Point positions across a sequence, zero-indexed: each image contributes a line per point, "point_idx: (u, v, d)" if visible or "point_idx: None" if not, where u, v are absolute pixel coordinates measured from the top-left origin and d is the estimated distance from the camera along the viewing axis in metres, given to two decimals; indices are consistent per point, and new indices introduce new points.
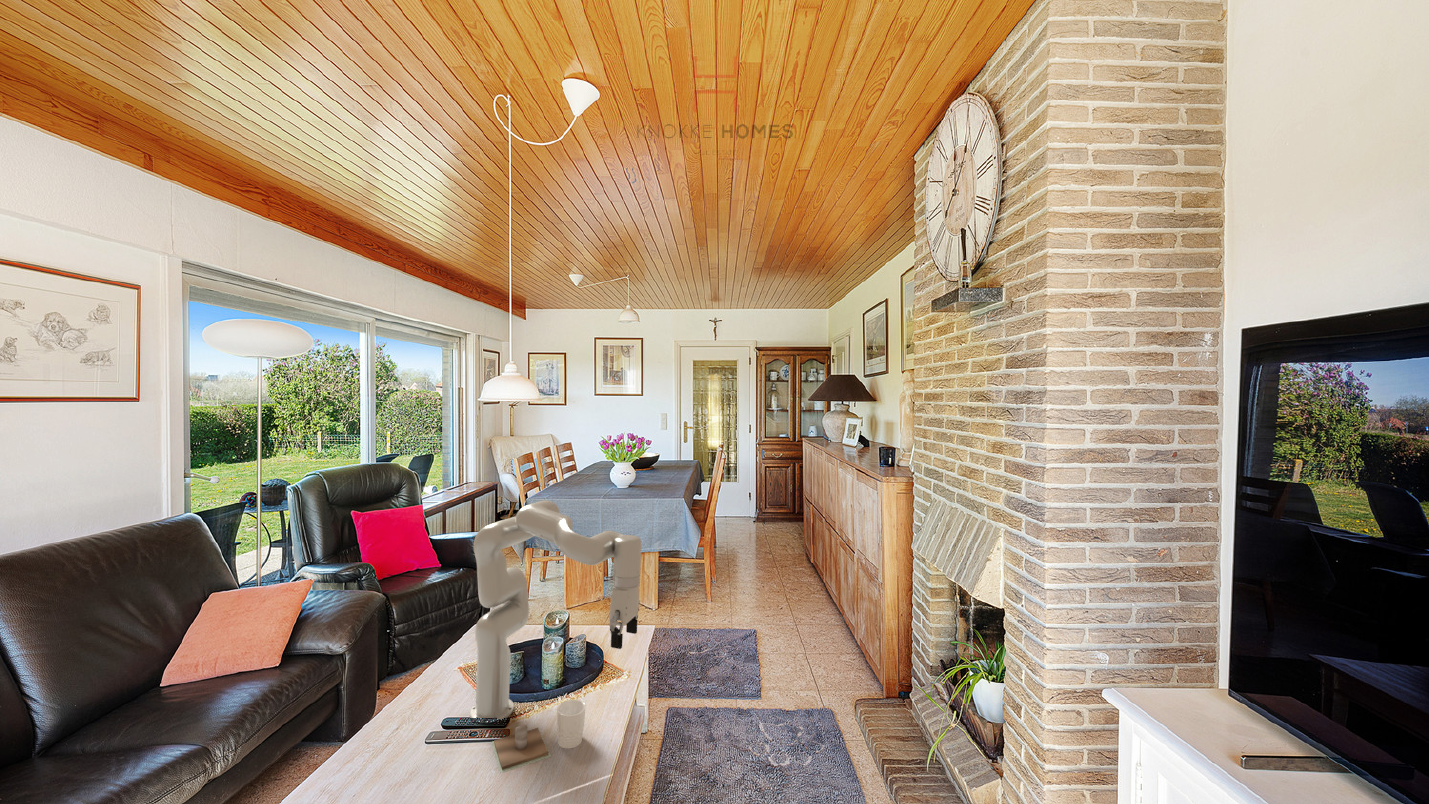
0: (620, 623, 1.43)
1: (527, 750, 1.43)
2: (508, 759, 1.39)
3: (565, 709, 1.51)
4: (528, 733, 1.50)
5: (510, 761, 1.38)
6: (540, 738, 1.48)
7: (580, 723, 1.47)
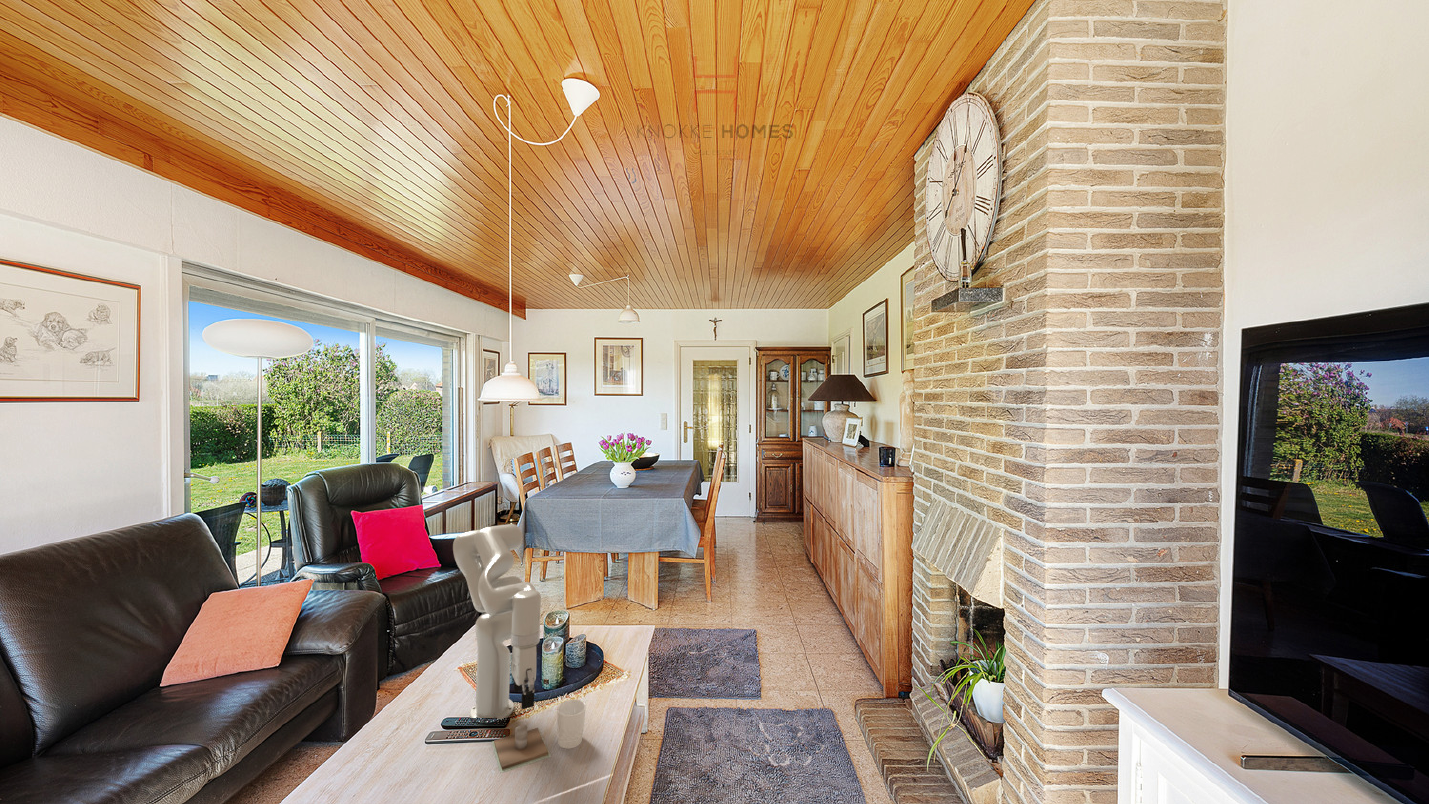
0: None
1: (527, 750, 1.43)
2: (508, 759, 1.39)
3: (565, 709, 1.51)
4: (528, 733, 1.50)
5: (510, 761, 1.38)
6: (540, 738, 1.48)
7: (580, 723, 1.47)
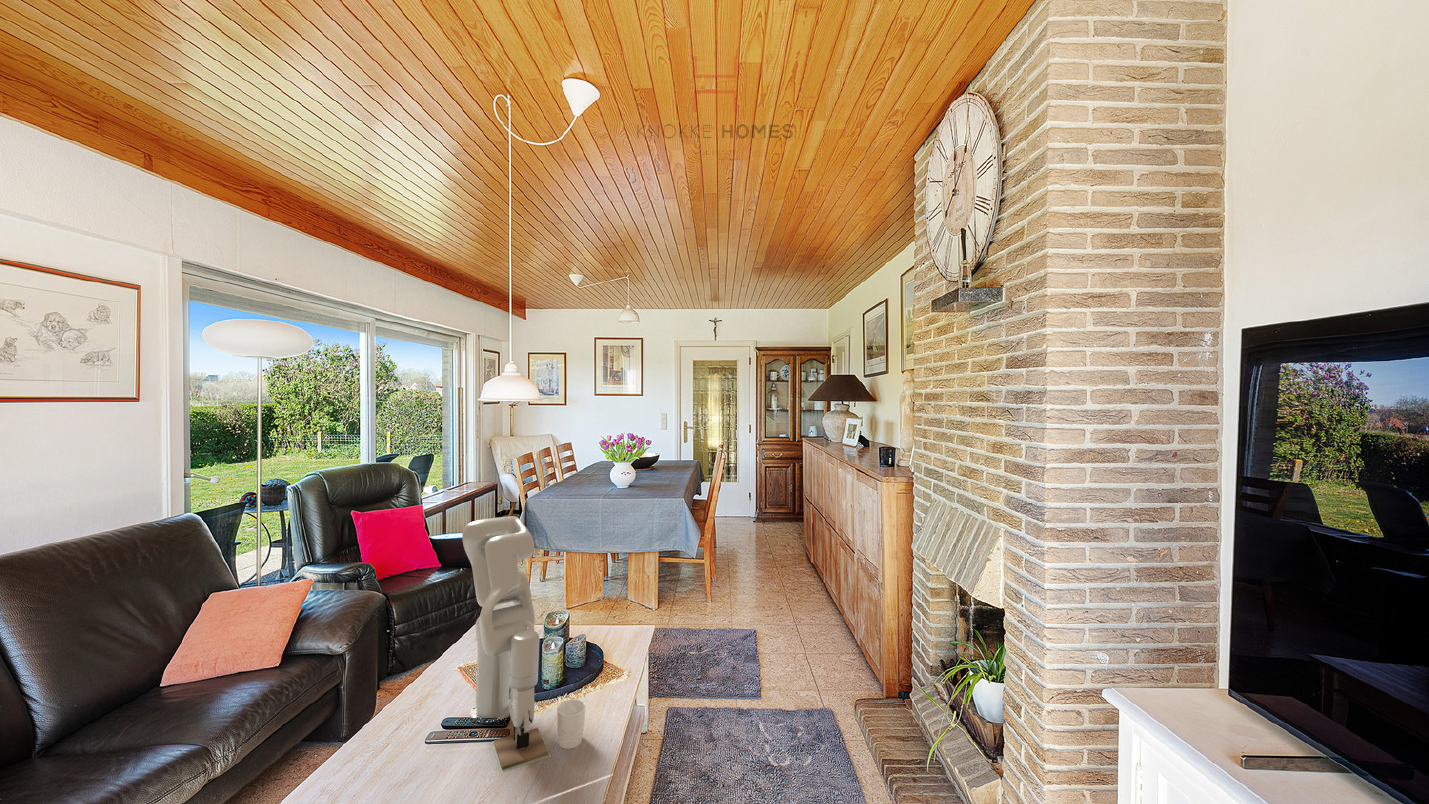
0: None
1: (527, 750, 1.43)
2: (508, 759, 1.39)
3: (565, 709, 1.51)
4: None
5: (510, 761, 1.38)
6: (540, 738, 1.48)
7: (580, 723, 1.47)
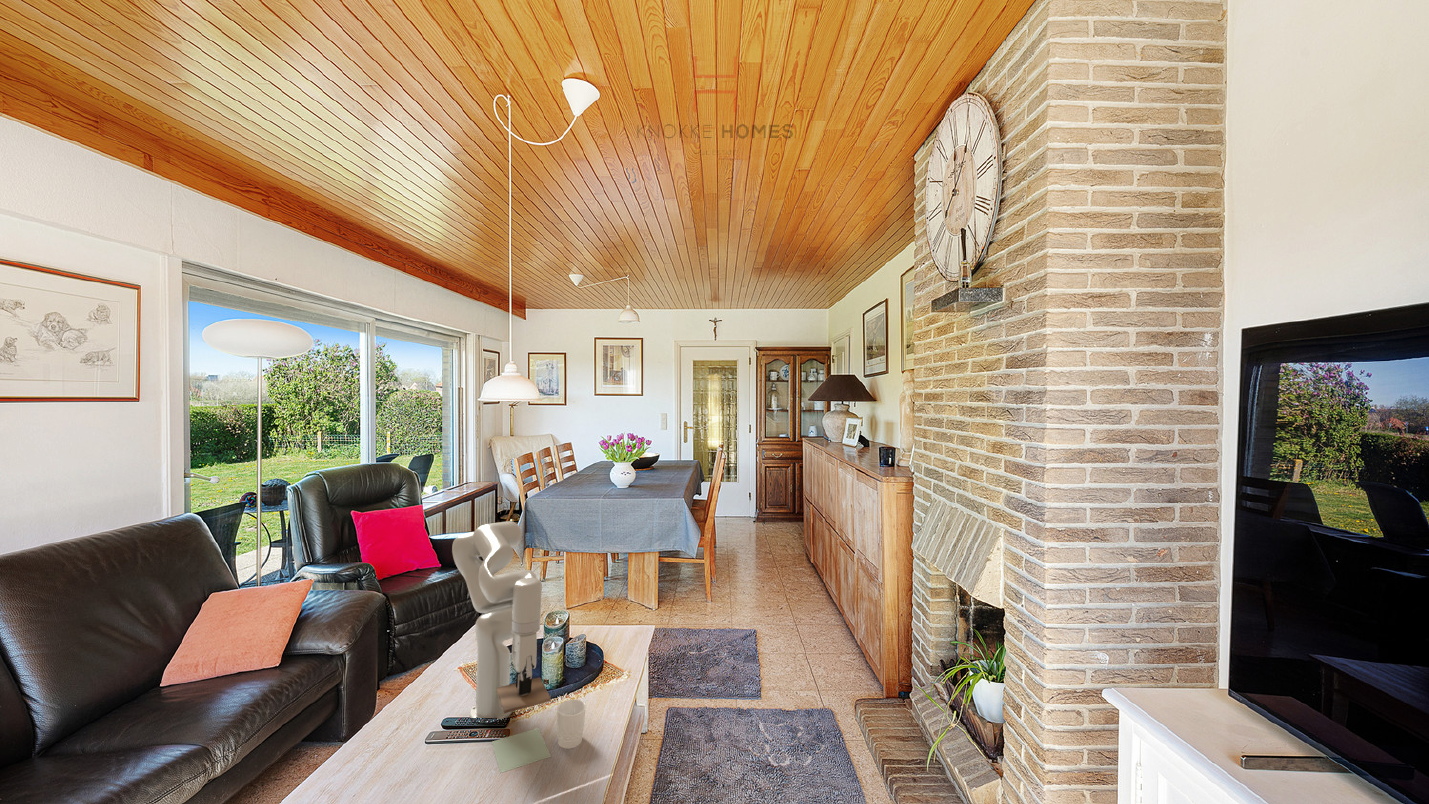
0: None
1: (529, 696, 1.43)
2: (510, 704, 1.39)
3: (565, 709, 1.51)
4: None
5: (512, 705, 1.38)
6: (542, 686, 1.48)
7: (580, 723, 1.47)
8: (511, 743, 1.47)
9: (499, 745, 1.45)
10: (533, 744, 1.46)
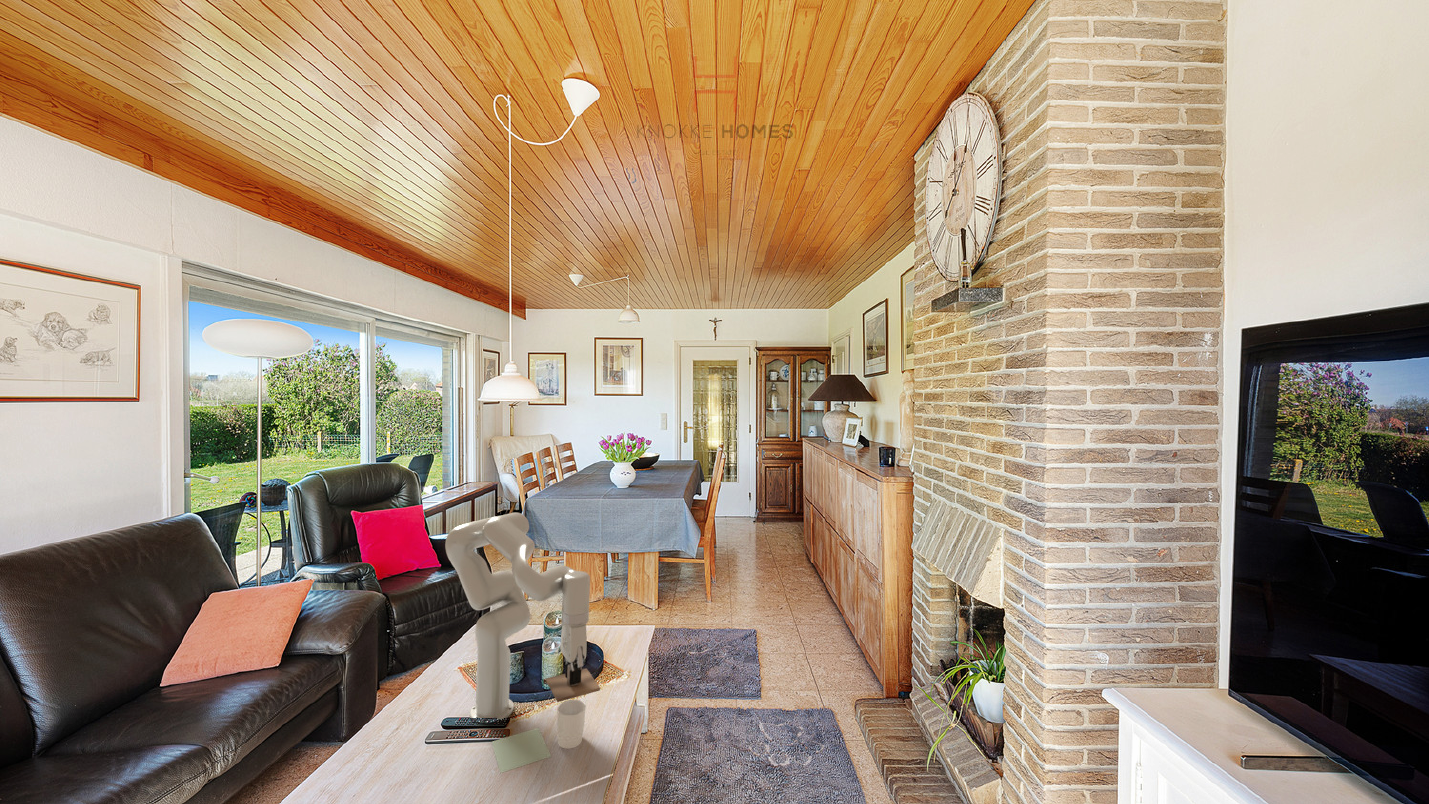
0: None
1: (579, 686, 1.47)
2: (562, 693, 1.43)
3: (565, 709, 1.51)
4: None
5: (565, 695, 1.43)
6: (590, 677, 1.52)
7: (580, 723, 1.47)
8: (511, 743, 1.47)
9: (499, 745, 1.45)
10: (533, 744, 1.46)
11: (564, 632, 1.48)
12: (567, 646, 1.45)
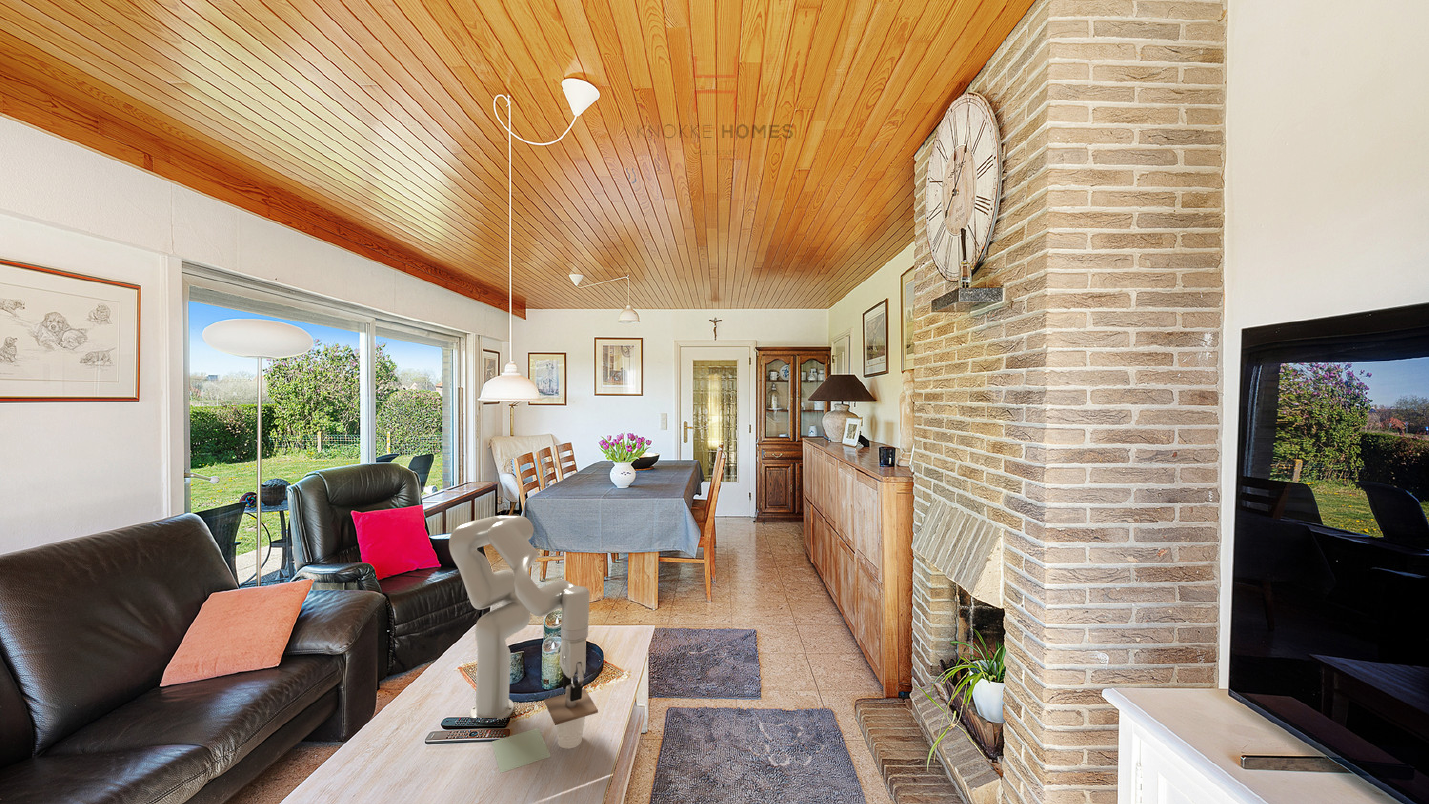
0: None
1: (577, 708, 1.47)
2: (560, 716, 1.43)
3: None
4: None
5: (562, 717, 1.43)
6: (588, 698, 1.52)
7: (580, 723, 1.47)
8: (511, 743, 1.47)
9: (499, 745, 1.45)
10: (533, 744, 1.46)
11: (563, 647, 1.48)
12: (566, 661, 1.45)
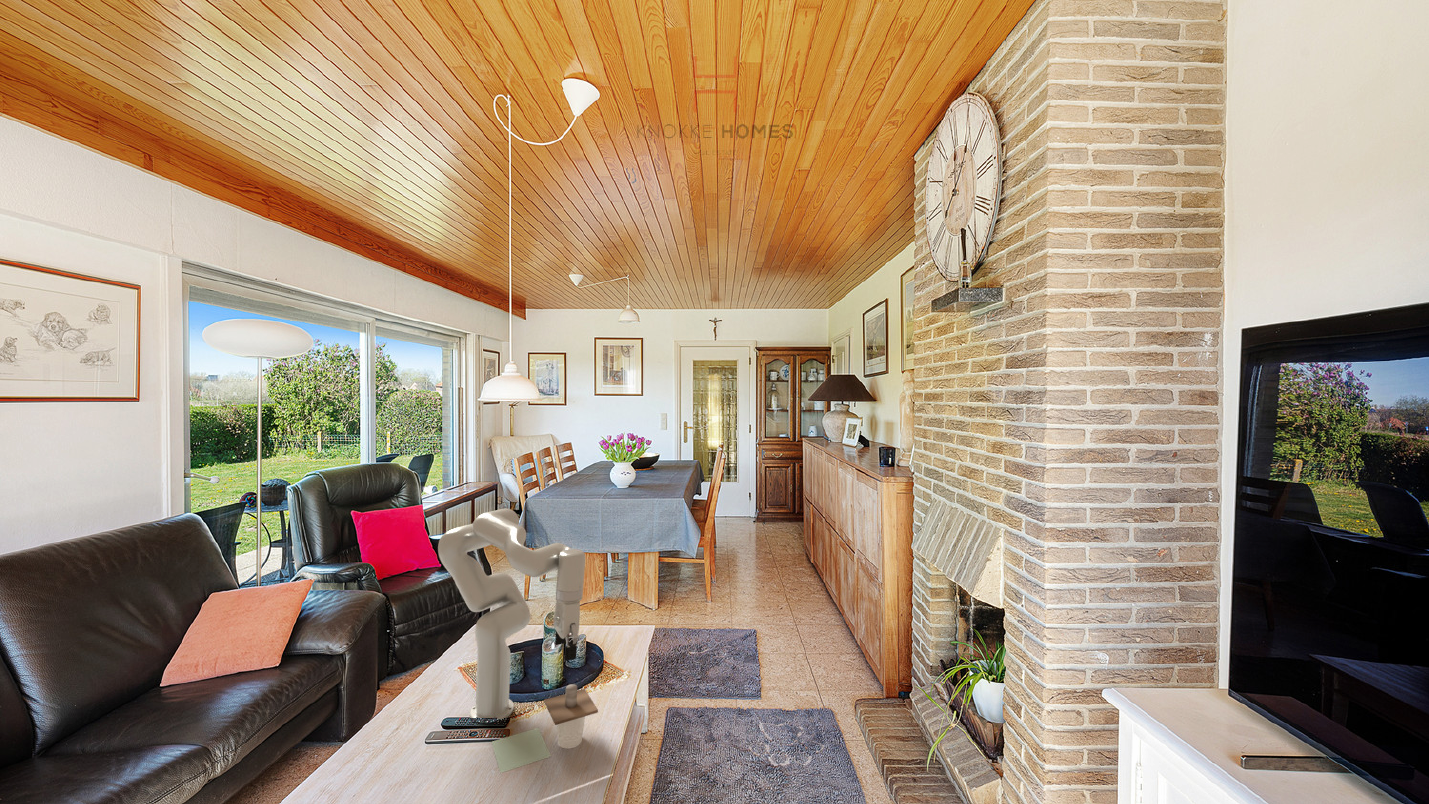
0: None
1: (577, 708, 1.47)
2: (560, 716, 1.43)
3: None
4: None
5: (562, 717, 1.43)
6: (588, 698, 1.52)
7: (580, 723, 1.47)
8: (511, 743, 1.47)
9: (499, 745, 1.45)
10: (533, 744, 1.46)
11: (558, 608, 1.49)
12: (560, 622, 1.47)
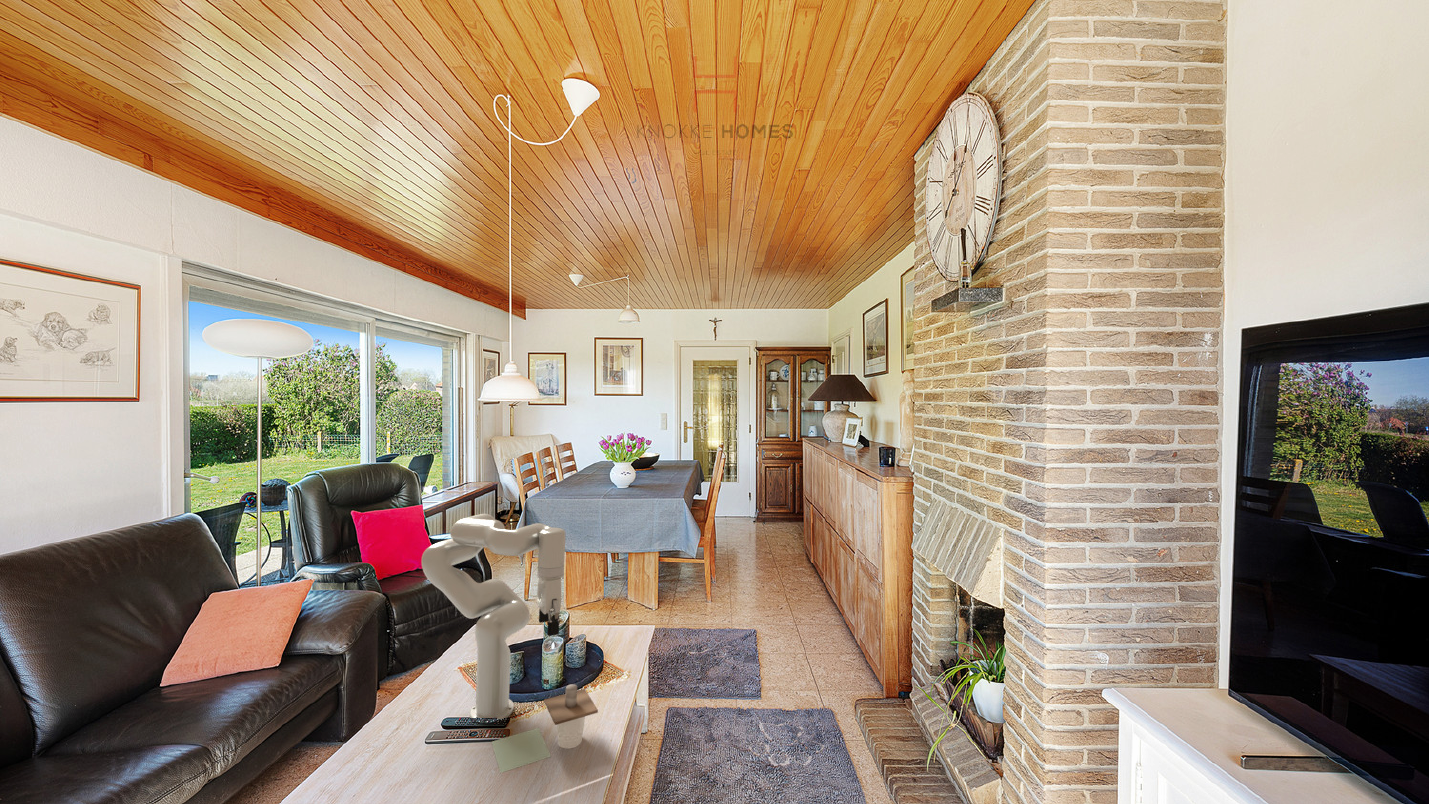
0: None
1: (577, 708, 1.47)
2: (560, 716, 1.43)
3: None
4: (576, 693, 1.54)
5: (562, 717, 1.43)
6: (588, 698, 1.52)
7: (580, 723, 1.47)
8: (511, 743, 1.47)
9: (499, 745, 1.45)
10: (533, 744, 1.46)
11: (540, 585, 1.53)
12: (542, 598, 1.50)
